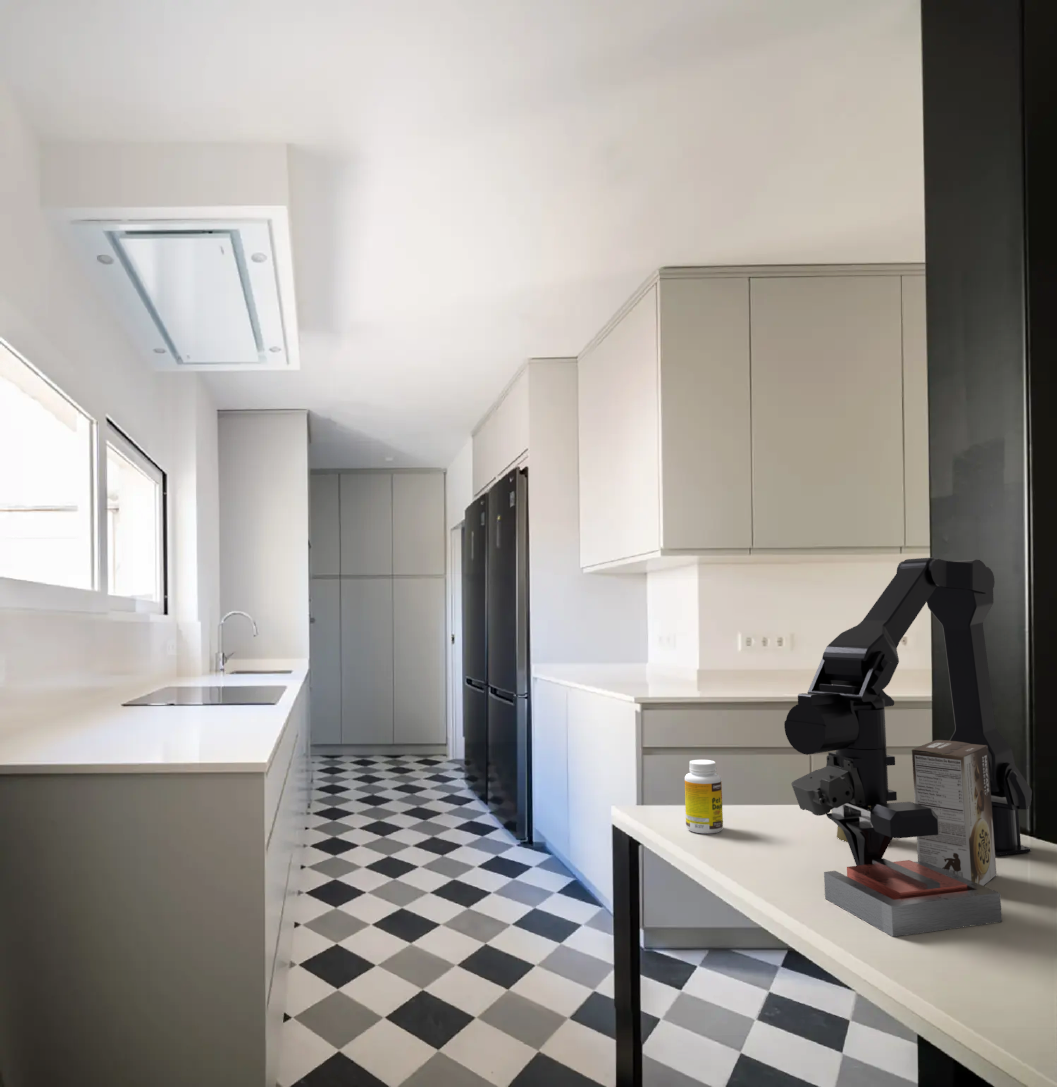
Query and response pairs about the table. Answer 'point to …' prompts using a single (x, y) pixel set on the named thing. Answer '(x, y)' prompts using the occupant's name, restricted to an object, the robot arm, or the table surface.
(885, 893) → the block
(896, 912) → the tray
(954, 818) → the coffee box
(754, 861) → the table surface
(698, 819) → the supplement bottle
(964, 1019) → the table surface
